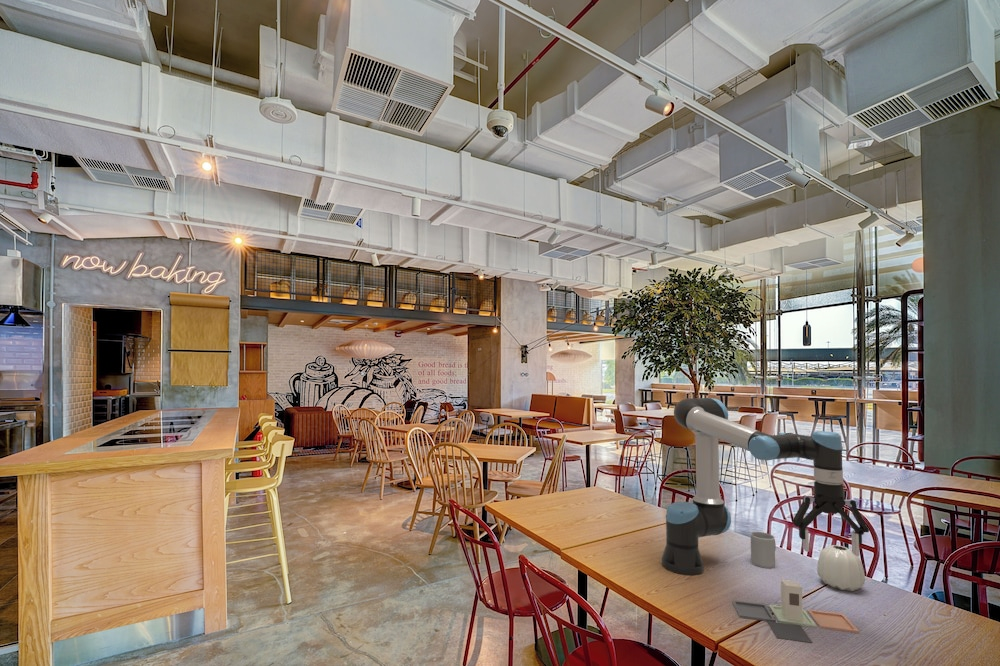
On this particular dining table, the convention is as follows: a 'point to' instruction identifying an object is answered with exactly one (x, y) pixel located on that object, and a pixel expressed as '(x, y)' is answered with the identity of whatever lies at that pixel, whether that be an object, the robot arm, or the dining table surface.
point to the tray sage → (780, 617)
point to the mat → (789, 632)
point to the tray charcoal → (753, 611)
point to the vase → (840, 568)
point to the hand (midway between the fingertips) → (830, 552)
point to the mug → (763, 549)
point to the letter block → (791, 600)
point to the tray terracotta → (832, 621)
